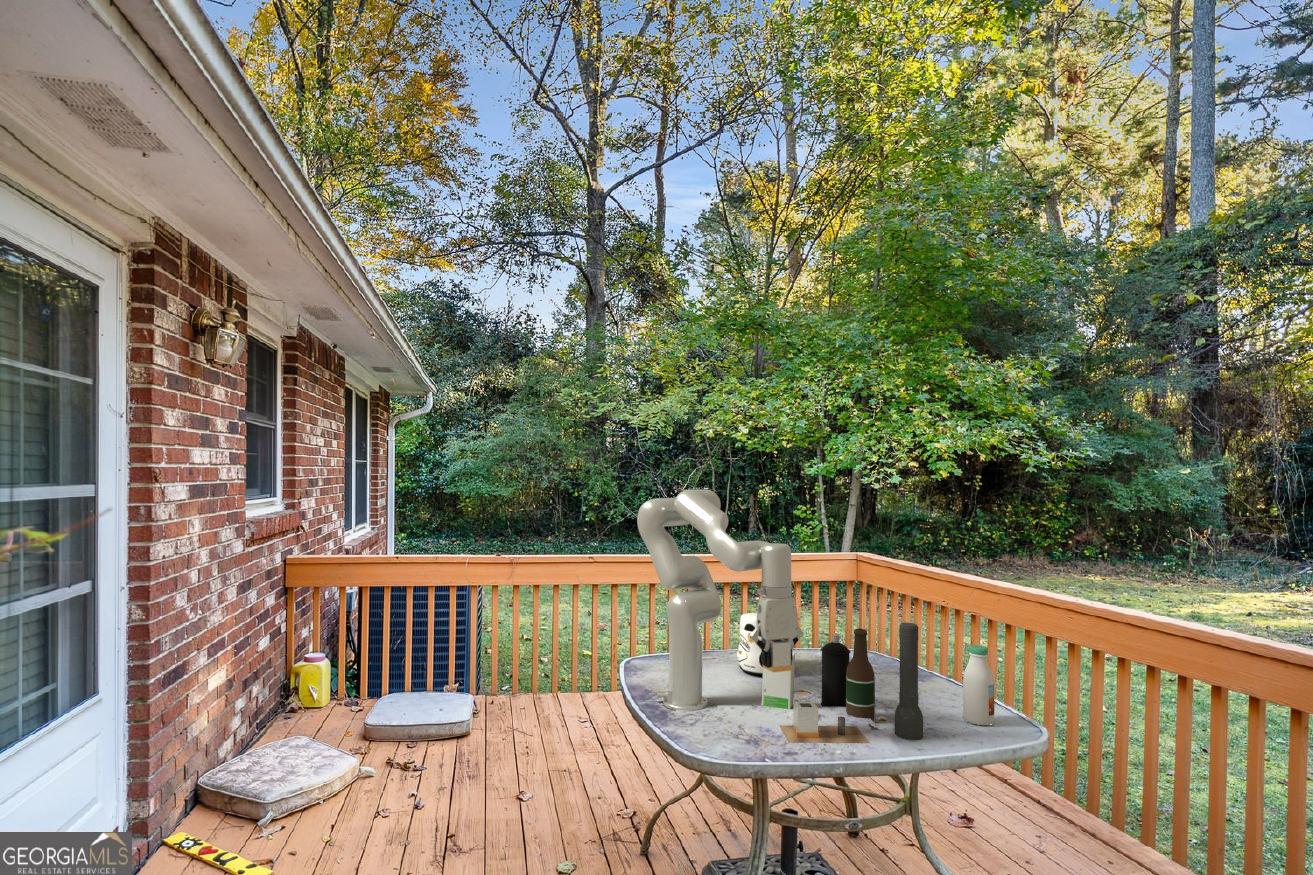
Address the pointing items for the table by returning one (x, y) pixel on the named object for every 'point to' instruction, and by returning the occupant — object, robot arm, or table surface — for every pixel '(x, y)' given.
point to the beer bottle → (860, 680)
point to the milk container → (749, 646)
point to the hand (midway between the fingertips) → (777, 664)
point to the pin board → (828, 734)
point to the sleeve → (780, 656)
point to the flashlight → (908, 686)
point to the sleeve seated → (805, 720)
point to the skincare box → (778, 688)
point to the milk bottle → (978, 688)
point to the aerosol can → (834, 673)
